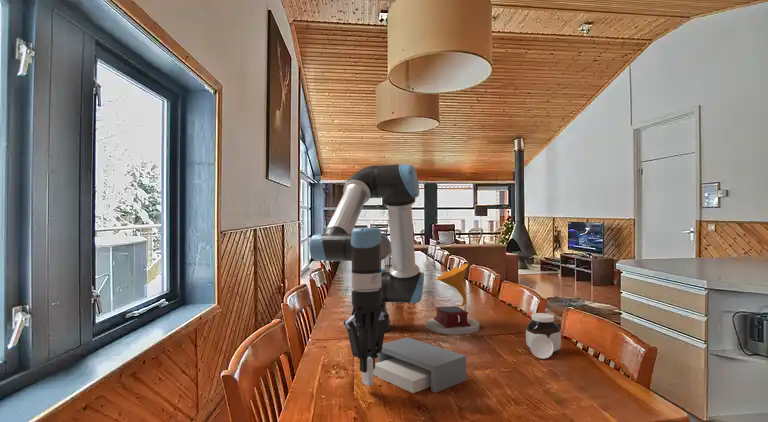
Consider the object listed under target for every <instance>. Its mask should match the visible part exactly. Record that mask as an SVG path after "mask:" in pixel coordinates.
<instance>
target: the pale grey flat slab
mask: <svg viewBox="0 0 768 422" xmlns="http://www.w3.org/2000/svg"><path fill="white" fill-rule="evenodd" d="M374 375H375V377H376V376H377V377H376V378H379V379H381V380H383V381H386V382H388V383H389V384H392V385H394V386H396V387H398V388H401V389H402V390H405V391H407V392H409V393H411V394H415V393H418V392H420V391H423V390H425V389H428V388H431V371H430V370H427V369H424V368H422V367H419V366H417V365H414V364H411V363H409V362H406V361H403V360H401V359H398V358H396V357H395V358H392V359H389V360H385V361H382V362H379V363H377V362H375V369H374V370H373V376H374Z"/></svg>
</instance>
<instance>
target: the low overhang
mask: <svg viewBox="0 0 768 422" xmlns="http://www.w3.org/2000/svg"><path fill="white" fill-rule="evenodd" d="M376 355H378V357H377V358H376V363H379V362H382V361H385V360H389V359H392V358H395V357H396V358H398V359H401V360H403V361H406V362H409V363H411V364H414V365H417V366H419V367H422V368H424V369H427V370H430V371H431V387H430V391H431V392H433V393H435V394H436V393H439V392H441V391H444V390H447V389H448V388H451V387H453V386H455V385H459V384H460V383H463V382H465V381H467V355H465V354H461V353H459V352H455V351H452V350H449V349H446V348H443V347H440V346H436V345H433V344H430V343H426V342H423V341H420V340H418V339H414V338H411V337H402V338H399V339H395V340H392V341H389V342H383V345H382V351H381V353H378V354H376Z"/></svg>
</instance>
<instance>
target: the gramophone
mask: <svg viewBox="0 0 768 422" xmlns="http://www.w3.org/2000/svg"><path fill="white" fill-rule="evenodd" d="M469 264H470V263H465V264H462V265H461V266H460V267H456V266H454V267H453V268H451V270H449V271H444V272H443V273H442V275H438V276H437V277H436V279H435V281H440V282H442V283H444V284H447V285H448V286H451V287H453V288H455V289H456V290H457V291H458V293H459V294H460V295H461V298H463V299H462V304H461V305H460V304H459V303H457V305H452V306H449V305H448V306H435V307H434V308H435V309H436V316H434V317H433V318H432V317H431V318H430V319H428V320H427V321H426V329H428V330H429V331H431V332H434V333H438V334H442V335H443V334H444V335H452V336H453V335H468V334H472V333H473V334H474V333H476V332H478V331H480V322H479V321H478V320H476V319H473V318H470V317H468V315H469V312H468V311H467V309H468V308H467V302H468V301H467V294H466V292H465V289H464V286H463V285H464V283H463V282H464V279H465V275H466V270H467V268H468V265H469ZM462 307H464V308H462Z"/></svg>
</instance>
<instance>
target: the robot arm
mask: <svg viewBox="0 0 768 422" xmlns="http://www.w3.org/2000/svg"><path fill="white" fill-rule="evenodd" d="M419 196H420V181H419V179H418V173H417V170H416V168H415V167H414V166H413V165H412V164H402V163H399V164H398V163H394V164H378V165H377V164H375V165H368V166H365V167H362V168H361V169H359V170H358V171H357V172H355V173H354V174H352V176H350V177H349V178H348V179H347V181H346V183H344V186H343V195H342V196H341V199H340V201H339V202H338V204H337V206H336V209H335V210H334V212H333V214H332V217H331V219H330V220H329V223H328V224H327V226H326V228H325V230H324V232H323V233H321V232H320V233H317V234H314V235H312V236H311V238H310V239H309V253H310V257H311V258H312V259H313V260H314V261H324V262H351V288H352V289H353V290H352V291H351V305H352V312H351V316H350V317H349V318H348V319H345V320H343V325H344V327H345V328H346V330H347V335H348V340H349V343H350V344H349V345H350V348H351V354H352V356H353V357H354V358H356V359H359V371H360V372H361V384H364V385H366V386H368V387H370V386H374V375H373V370H374V369H375V363H376V359H377V357H378V355H377V354H378V353H381V351H382V345H383V344H384V339H385V332H388V331H390V330H391V329H392V327H391V326H392V325H391V320H390V315H389V313H388V310H387V303H394V304H395V303H398V304H400V303H401V304H403V303H404V304H418V303H420V302H421V300H422V297H423V291H424V284H425V283H424V282H425V273H424V272H422V271H421V270H420V266H419V265H418V264H416V256H415V240H414V224H413V211H412V206H413V205H414V204H415V203H416V198H418V197H419ZM371 199H382V204H383V205H384V206H385V207H386V208H387V214H388V224H389V225H388V226H389V227H388V228H389V237H390V238H389V237H387V236H386V235H385V234H382V233H381V228H379V227H356V224H357V222H358V220H359V217H360V214H361V211H362V210H363V208H364V205H365V204H366V203H367V202H368V201H369V200H371ZM390 253H391V261H392V266H391V267H390V268H389V270H388V271H387V270H386V268H385V267H382V261H383V260H385V259H386V258H387V257H388V256H389V255H390Z"/></svg>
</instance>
